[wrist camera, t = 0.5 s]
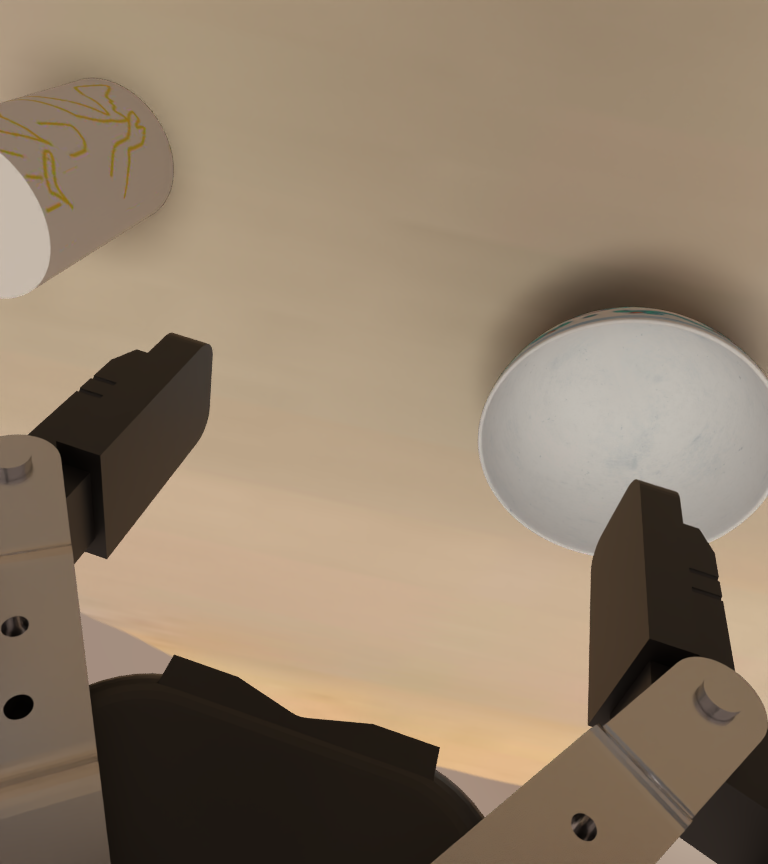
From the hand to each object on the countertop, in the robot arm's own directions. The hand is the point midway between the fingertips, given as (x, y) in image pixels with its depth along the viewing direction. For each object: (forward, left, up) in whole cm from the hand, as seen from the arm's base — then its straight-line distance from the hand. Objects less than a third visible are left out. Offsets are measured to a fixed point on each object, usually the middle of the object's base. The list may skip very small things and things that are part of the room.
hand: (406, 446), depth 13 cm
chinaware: (+13, +10, -29) cm, 33 cm away
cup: (+8, -23, -29) cm, 38 cm away
